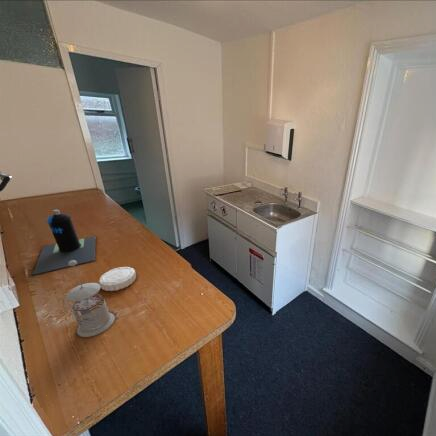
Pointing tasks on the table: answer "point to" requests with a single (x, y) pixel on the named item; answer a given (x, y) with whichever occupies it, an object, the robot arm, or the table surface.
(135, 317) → the table surface
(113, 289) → the mooncake
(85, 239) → the board
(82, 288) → the french press
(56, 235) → the aerosol can
